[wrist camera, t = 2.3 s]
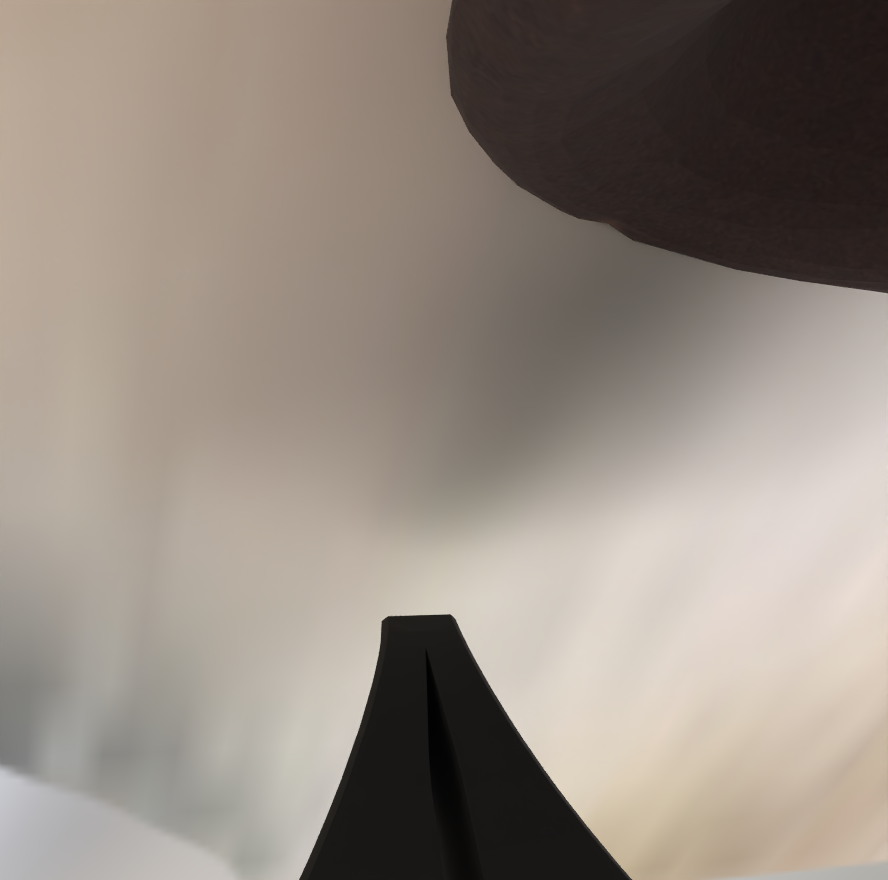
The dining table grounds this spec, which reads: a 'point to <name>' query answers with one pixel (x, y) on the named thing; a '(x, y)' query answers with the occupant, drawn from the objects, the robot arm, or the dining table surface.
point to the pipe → (693, 123)
